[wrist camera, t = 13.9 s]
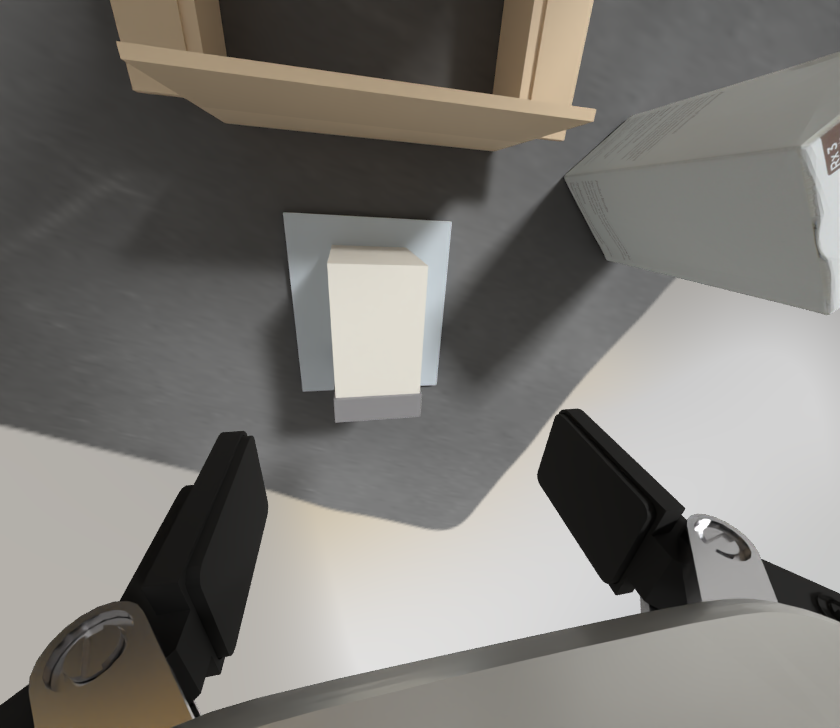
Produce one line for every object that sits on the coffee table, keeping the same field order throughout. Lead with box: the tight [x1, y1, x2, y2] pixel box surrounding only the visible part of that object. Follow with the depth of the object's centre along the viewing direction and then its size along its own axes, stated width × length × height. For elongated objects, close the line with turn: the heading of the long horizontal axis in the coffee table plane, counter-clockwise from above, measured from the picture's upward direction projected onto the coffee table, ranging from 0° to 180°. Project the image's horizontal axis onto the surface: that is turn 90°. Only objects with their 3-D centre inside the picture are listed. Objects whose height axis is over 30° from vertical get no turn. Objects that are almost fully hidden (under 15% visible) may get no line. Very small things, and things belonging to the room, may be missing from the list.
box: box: [327, 245, 428, 423], centre depth 21 cm, size 9×5×7 cm, turn 177°
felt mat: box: [283, 212, 452, 392], centre depth 25 cm, size 13×11×1 cm
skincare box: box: [564, 52, 840, 315], centre depth 18 cm, size 8×6×15 cm
